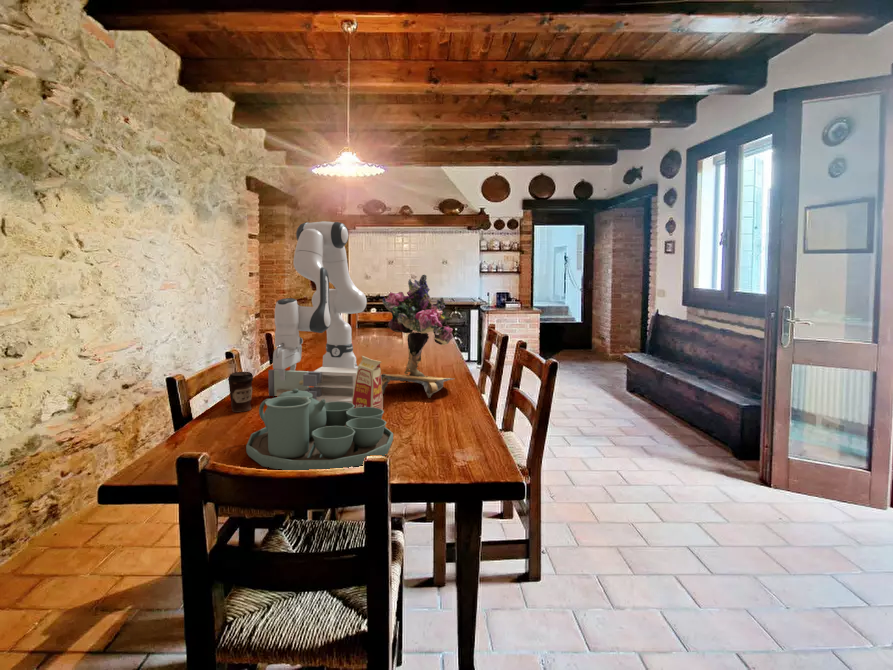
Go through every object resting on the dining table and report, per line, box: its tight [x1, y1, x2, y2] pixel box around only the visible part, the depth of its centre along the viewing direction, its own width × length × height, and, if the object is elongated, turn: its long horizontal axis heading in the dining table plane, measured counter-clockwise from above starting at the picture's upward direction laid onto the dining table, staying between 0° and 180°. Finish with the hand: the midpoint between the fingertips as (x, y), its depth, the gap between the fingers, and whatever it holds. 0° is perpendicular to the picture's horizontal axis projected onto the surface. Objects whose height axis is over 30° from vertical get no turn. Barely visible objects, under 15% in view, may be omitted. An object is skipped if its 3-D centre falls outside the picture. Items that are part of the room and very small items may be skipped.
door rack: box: [277, 389, 303, 397], centre depth 214 cm, size 5×10×3 cm, turn 85°
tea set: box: [245, 389, 394, 471], centre depth 157 cm, size 40×40×16 cm
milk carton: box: [352, 355, 384, 411], centre depth 192 cm, size 9×9×20 cm
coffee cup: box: [227, 371, 254, 413], centre depth 193 cm, size 9×8×13 cm
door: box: [268, 369, 310, 397], centre depth 213 cm, size 3×15×10 cm, turn 85°
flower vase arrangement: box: [381, 274, 454, 399], centre depth 227 cm, size 33×44×45 cm
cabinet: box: [303, 366, 358, 403], centre depth 209 cm, size 16×18×11 cm
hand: (287, 377), depth 213 cm, fingers open, 8 cm apart
